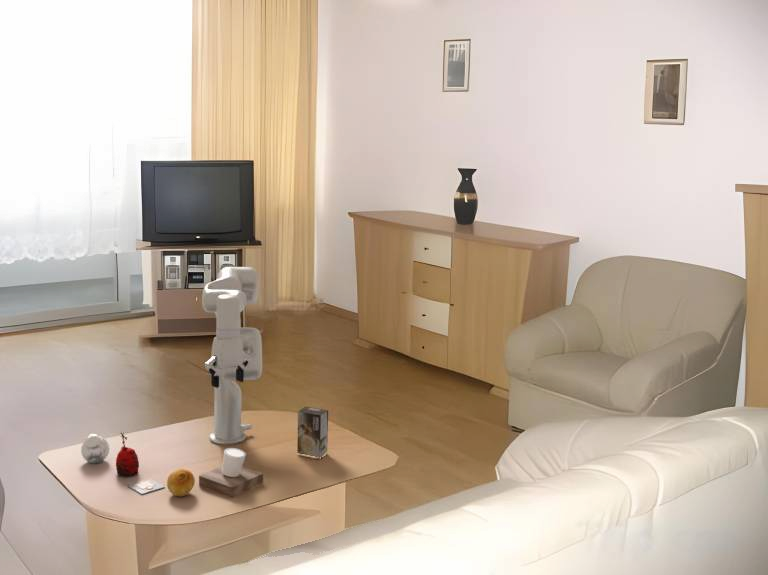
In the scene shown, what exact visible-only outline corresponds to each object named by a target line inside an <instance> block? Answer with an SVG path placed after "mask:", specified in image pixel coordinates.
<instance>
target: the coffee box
mask: <svg viewBox="0 0 768 575" xmlns="http://www.w3.org/2000/svg"><path fill="white" fill-rule="evenodd" d="M328 430H329V410H327V409H323V408H317V407H311V406H304V407H302V408H300V410H298V411H297V450H296V451H297V453H299V454H305V455H310V456H315V457H319V458H320V457H322V456H323V455H324V454H325V453H326V452H327V453H328V443H329V442H328V435H329V431H328ZM297 453H296V454H297Z"/></svg>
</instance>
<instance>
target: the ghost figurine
mask: <svg viewBox="0 0 768 575" xmlns="http://www.w3.org/2000/svg"><path fill="white" fill-rule="evenodd" d="M80 451H81V455H82V458H83V459H84V460H85V461H86V462H88V463H91V464H98V463H101V462H103V461H104V460H105V459H106V458H107V457H108V455H109V453H110V444H109V442H108V441H107V439H105V438H104V437H102V436H100V435H98V434H96V433H92V434H91V433H90V434H88V435H87V436H86V437H85V438H84V442H83V443H82V445H81V448H80Z"/></svg>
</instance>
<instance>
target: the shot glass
mask: <svg viewBox="0 0 768 575" xmlns="http://www.w3.org/2000/svg"><path fill="white" fill-rule="evenodd" d="M223 451H224V452H223V457H222V458H223V459H222V473H223V474H224V475H226V476H229V477H237V476H239V475H240V472H241V469H242V467H244V462H245V460H246V455H247V453H246V452H245V451H244V450H242V449H241V448H235V447H227V448H225V449H224V450H223Z"/></svg>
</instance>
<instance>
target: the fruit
mask: <svg viewBox="0 0 768 575" xmlns="http://www.w3.org/2000/svg"><path fill="white" fill-rule="evenodd" d="M195 482H196V481H195V476H194V474H193V473H192V471H190V470H189V469H188V470H187V469H184V468H178V469H175V470H173V471H172V472H171V473H170V474H169V475H168V478H167V479H166V486H167V489H168V492H170V493H171V494H172V495H173V496H175V497H184V496H186V495H188V494H189V493H190V492H191V491H192V490H193V488H194V486H195Z"/></svg>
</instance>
